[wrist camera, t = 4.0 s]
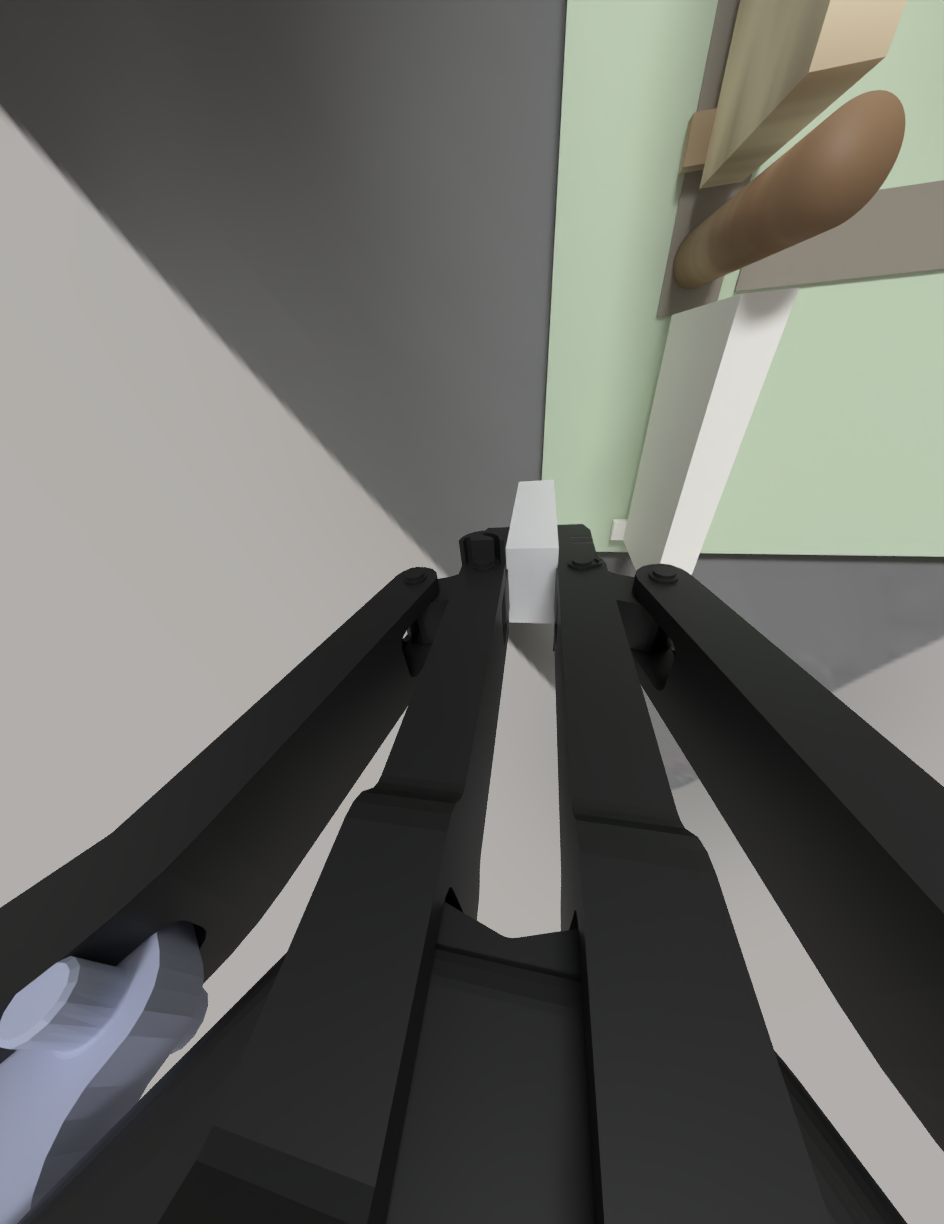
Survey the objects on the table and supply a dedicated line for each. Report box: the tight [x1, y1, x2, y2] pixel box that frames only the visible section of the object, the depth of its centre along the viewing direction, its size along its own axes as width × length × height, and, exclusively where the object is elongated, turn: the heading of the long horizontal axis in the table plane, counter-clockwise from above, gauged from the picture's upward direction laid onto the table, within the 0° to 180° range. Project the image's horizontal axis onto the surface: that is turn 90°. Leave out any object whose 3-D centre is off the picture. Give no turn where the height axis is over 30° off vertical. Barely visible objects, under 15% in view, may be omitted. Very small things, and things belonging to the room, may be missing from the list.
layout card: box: [542, 0, 944, 557], centre depth 11 cm, size 24×22×1 cm
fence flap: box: [610, 287, 800, 575], centre depth 13 cm, size 9×2×6 cm, turn 4°
